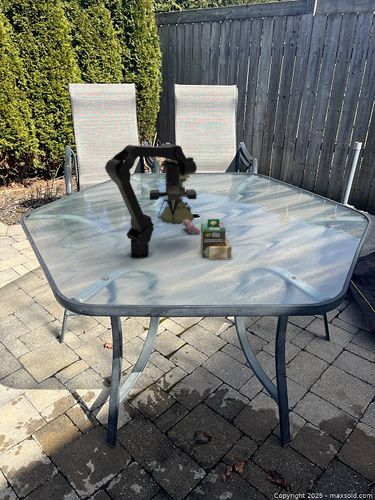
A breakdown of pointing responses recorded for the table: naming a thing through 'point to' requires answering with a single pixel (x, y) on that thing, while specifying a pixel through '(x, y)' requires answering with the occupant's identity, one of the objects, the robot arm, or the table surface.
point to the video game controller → (190, 226)
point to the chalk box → (212, 235)
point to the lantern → (177, 208)
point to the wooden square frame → (220, 251)
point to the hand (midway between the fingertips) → (172, 214)
